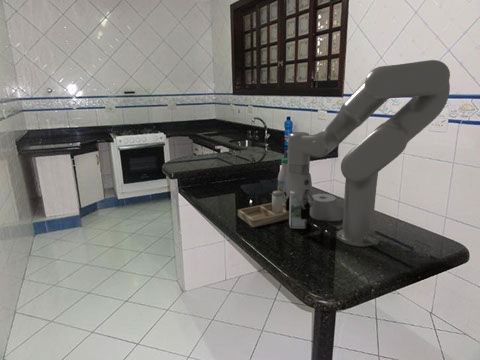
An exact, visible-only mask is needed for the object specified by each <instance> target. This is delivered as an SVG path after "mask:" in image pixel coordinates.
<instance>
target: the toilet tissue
mask: <svg viewBox="0 0 480 360" xmlns="http://www.w3.org/2000/svg"><path fill="white" fill-rule="evenodd" d="M312 197H313V198H314V202H313V205H312V206H311V208H310V211H309V217H311V218H312V219H314V220H316V221H324V222H325V221H327V222H336V221H337V222H339V221H343V210H344V207H341V206H339V205H337V198H336V196H334V195H332V194H328V193H315V194H312Z"/></svg>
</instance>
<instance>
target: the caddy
mask: <svg viewBox="0 0 480 360" xmlns="http://www.w3.org/2000/svg"><path fill="white" fill-rule="evenodd" d="M236 212H237V217H238V218H240V220H243V221H244V222H245V223H246V224H248V225H249V226H250V227H252V228H257V227H261V226H265V225H268V224H269V225H271V224H274V223H278V222H282V221H287V220H289V211H286V203H283V213H281V214H274V213H273V212H272V202H268V203H264V204H260V205H259V204H258V205H253V206H249V207H244V208H240V209H237V211H236Z"/></svg>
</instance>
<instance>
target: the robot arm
mask: <svg viewBox="0 0 480 360" xmlns="http://www.w3.org/2000/svg"><path fill="white" fill-rule="evenodd" d="M450 77H451V71H450V69H449V66H447V64H446V63H444V62H443V61H441V60H436V59H429V60H428V59H427V60H422V61H421V60H420V61H415V62H408V63H401V64H400V63H399V64H393V65H392V64H391V65H382V66H378V67H375V68H374V69H372V70H370V71H369V73H368V74H367V76H366V78H365V80H364V82H362V84H361V85H360V86H359V87H358V88H357V89H356V90H355V91H354V92H353V93H352V94H351V95H350V96H349V97H348V98H347V99H346V100H345V101H344V102H343V103H342V104H341V106H340V109H339V111H338V113H337V114H336V116H335V117H334V118H333V119H332V120H331V121H330V122H329V124H327V125H326V126H325V127H324V129H322V130H321V131H320V132H318V133H316V134H315V133H314V134H310V133H308V132H306V131H305V132H304V131H303V132H302V131H294V132H291V133H289V134H288V137H287V158H288V172H287V178H286V186H284V187H283V189H284V194H285V200H287V201H286V203H285V204H286V211H289V197H290V191H292V192H294V193H295V194H296V199H297V201H299V202H301V205H302V209H301V219H302V220H303V219H306V220H307V219H309V218H310V208H311V206H312V205H313V202H314V198H313V197H312V195H313V184H312V183H313V181H312V176H311V173H310V167H311V166H310V162H311V161H310V160H311V157H313V158H323V157H325V156H327V155H328V154H329V153H331V152H333V151H334V150H335V149H336V148H337V147H338V146H339V145H340V144H341V143H342V142H343V141H345V140H346V139H347V137H349V135H351V134H352V133H353V132H354V131H355V130H356V129H357V128H358V127H361V126H362V125H363V124H364V123H365V122H366V121H367V120H368V119H369V118H370V117H371V116H372V115H373V114H374V113H375V112H376V111H377V110H378V109H380V108H381V106H383V105H384V104H385V103H386V102H387V101H388V100H389V99H398V98H408V97H410V98H411V99H409V100H408V101H407V102H406V103H405V104H404V105H403V106H402V107H401V108H400V109H399V110H398V111H396V113H394V114H393V115H392V116H391V117H390V118H389V119H387V120H386V121H384V122H382V123H381V124H379V126H377V127H376V128H375V129H374V130H373V131H372V132H370V133H369V134H368V135H367V136H366V137H365V138H364V139H363V140H361V141H360V142H359V143H358V144H357V145H356V146H355V147H352V148H351V149H350V150H349V151H348V152H347V154H345V156H344V157H343V158H342V160H341V162H340V171H341V174H342V176H343V177H344V178H345V181H344V197H343V208H344V210H343V219H342V228H341V229H339V230H338V231H337V233H336V236H337V237H336V238H337V239H338V240H339V241H340V242H341V243H343V244H345V245H349V246H353V247H360V248H361V247H369V246H373V245H374V246H377V245H378V244H379V242H380V241H381V239H382V238H381V236H378V235H376V229H375V228H374V217H375V209H376V208H375V206H376V205H375V204H376V196H377V186H378V179H379V178H378V176H379V172H380V171H381V170H383V169H384V168H386V167H387V165H389V164H390V163H391V162H393V161H394V160H395V159H396V158H398V157H399V156H400V155H401V154H402V153H403V152H404V151H405V149H406V147H407V145H408V143H409V142H410V141H411V140H413V139H414V137H416V136H417V135H418V134H420V133H421V132H422V131H423V130H424V129H425V128H426V127H428V126H429V125H430V124H431V123H432V122H433V121H434V120H436V118H437V117H439V115H440V114H441V112H442V111H443V110H444V108H445V107H446V104H447V102H448V99H449V97H450V90H451V89H450V88H451V86H450V79H451V78H450ZM304 196H306V197H307V199H305V200H303V199H304ZM304 202H306V204H304Z"/></svg>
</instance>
